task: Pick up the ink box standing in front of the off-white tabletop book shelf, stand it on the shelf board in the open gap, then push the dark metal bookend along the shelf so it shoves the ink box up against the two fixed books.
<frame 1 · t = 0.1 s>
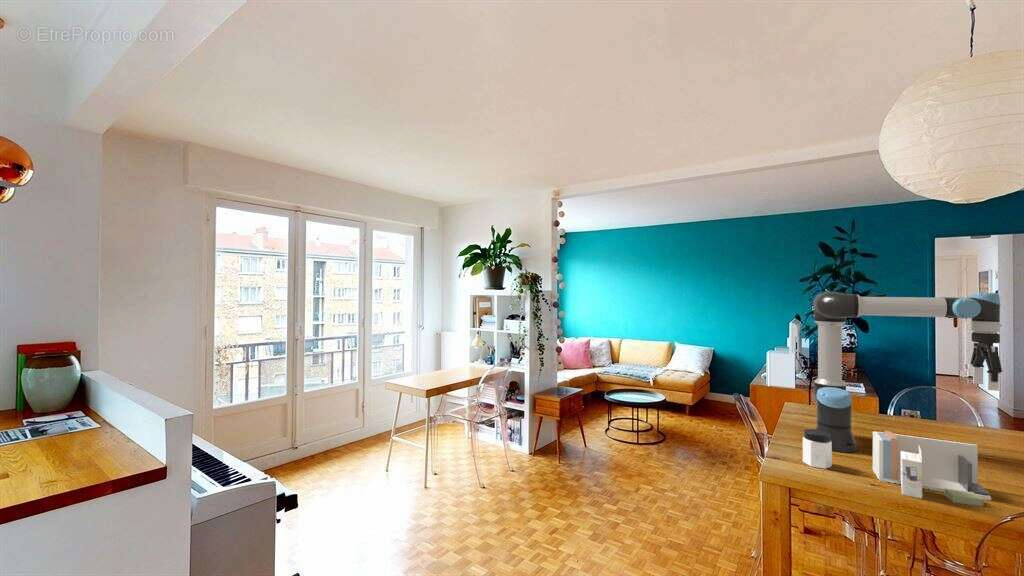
hand: (985, 386, 169), 28 cm above the table, fingers open, 13 cm apart
jar: (817, 464, 163), on the table
ink box: (910, 492, 141), on the table
shelf: (927, 483, 147), on the table
bookend: (973, 474, 141), point 6 cm above the table, slide at 0.0 cm
fallen book: (963, 501, 135), on the table
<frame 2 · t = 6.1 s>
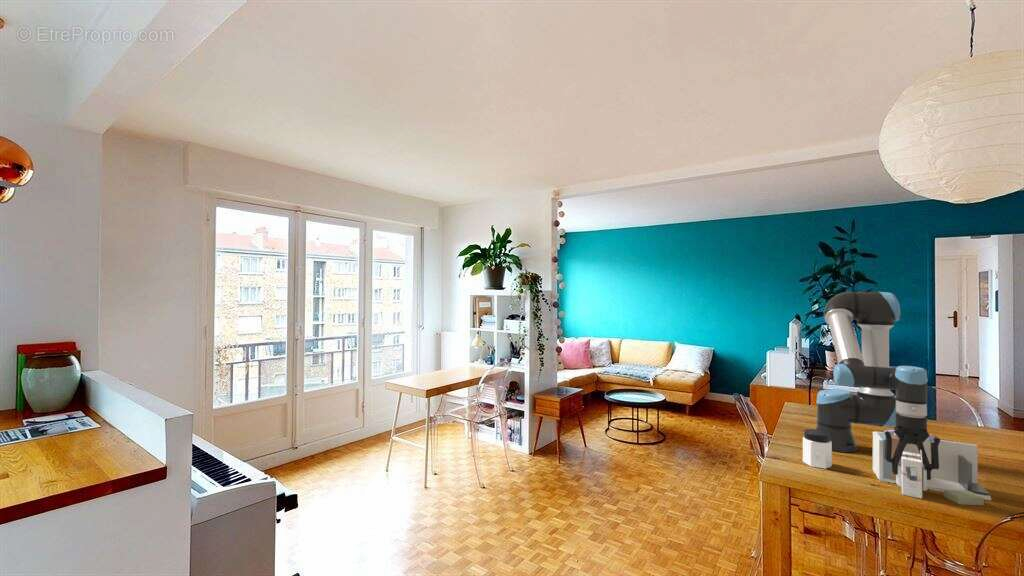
hand: (911, 486, 141), 2 cm above the table, fingers closed on ink box, 5 cm apart
ink box: (911, 492, 141), on the table, touching gripper
when the fingers open (4 cm above the table, at t = 11.6 s): ink box drops 1 cm, resting on shelf.
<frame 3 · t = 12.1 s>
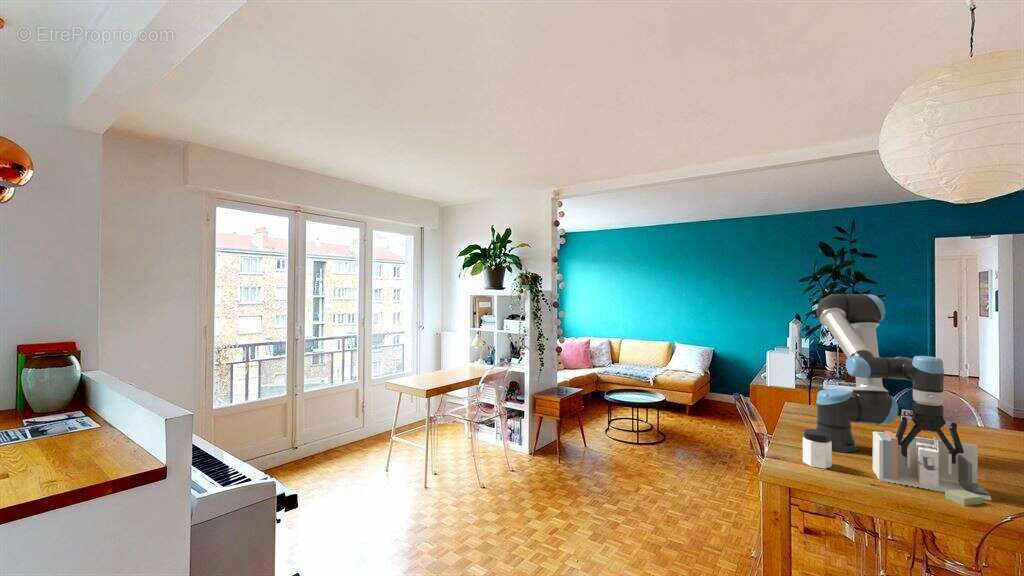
hand: (927, 469, 147), 5 cm above the table, fingers open, 9 cm apart
ink box: (927, 482, 147), point 1 cm above the table, touching shelf
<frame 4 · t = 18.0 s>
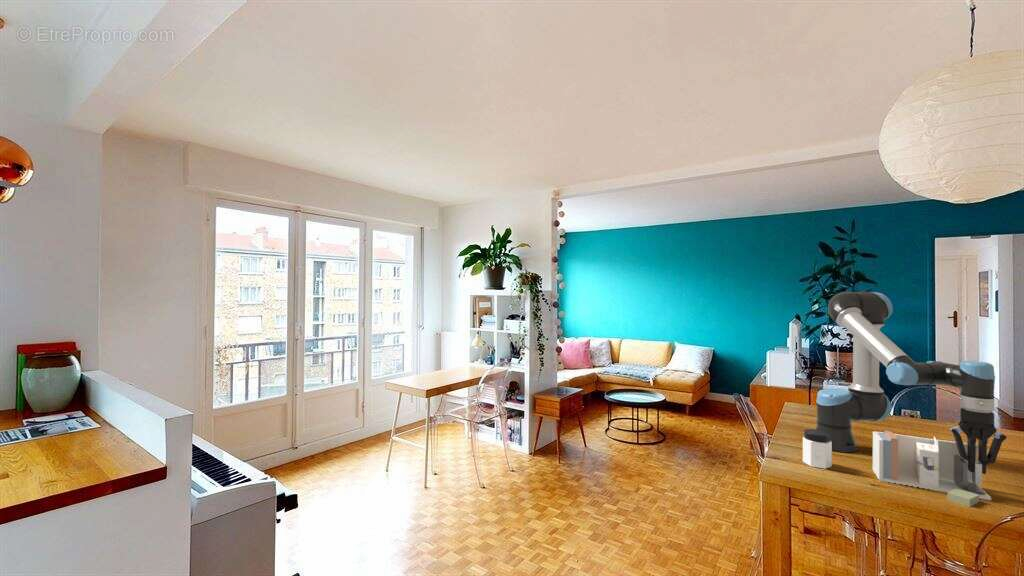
hand: (976, 482, 141), 3 cm above the table, fingers closed
bookend: (969, 473, 142), point 6 cm above the table, slide at 1.0 cm, touching gripper
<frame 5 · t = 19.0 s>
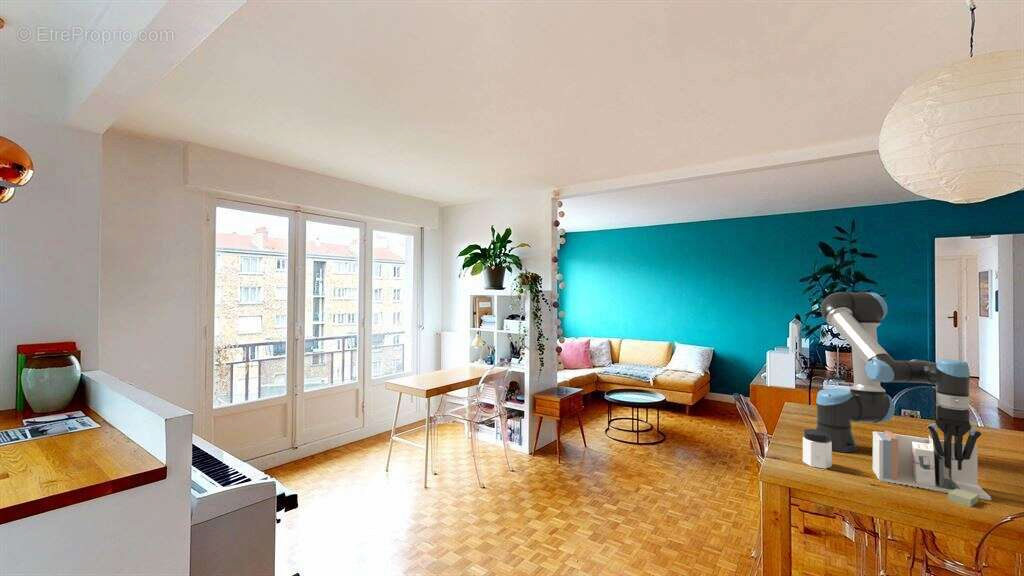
hand: (953, 478, 144), 3 cm above the table, fingers closed
ink box: (923, 481, 147), point 1 cm above the table, touching bookend, hand, shelf
bookend: (945, 470, 144), point 6 cm above the table, slide at 6.6 cm, touching gripper, ink box
everything else where it was.
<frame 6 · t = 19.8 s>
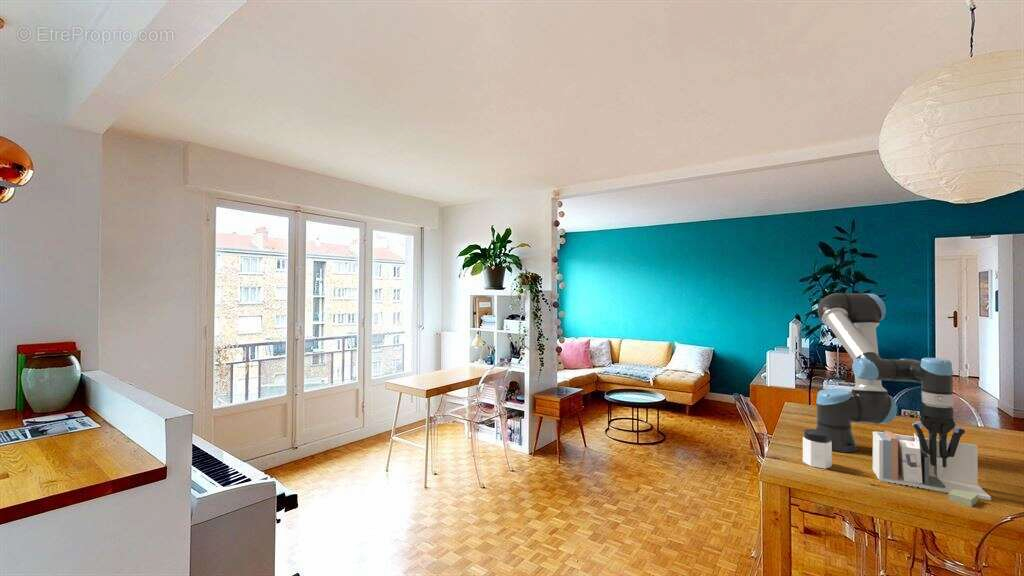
hand: (938, 475, 145), 3 cm above the table, fingers closed
ink box: (910, 478, 149), point 1 cm above the table, touching bookend, hand, shelf
bookend: (931, 467, 146), point 6 cm above the table, slide at 10.2 cm, touching gripper, ink box
everything else where it was.
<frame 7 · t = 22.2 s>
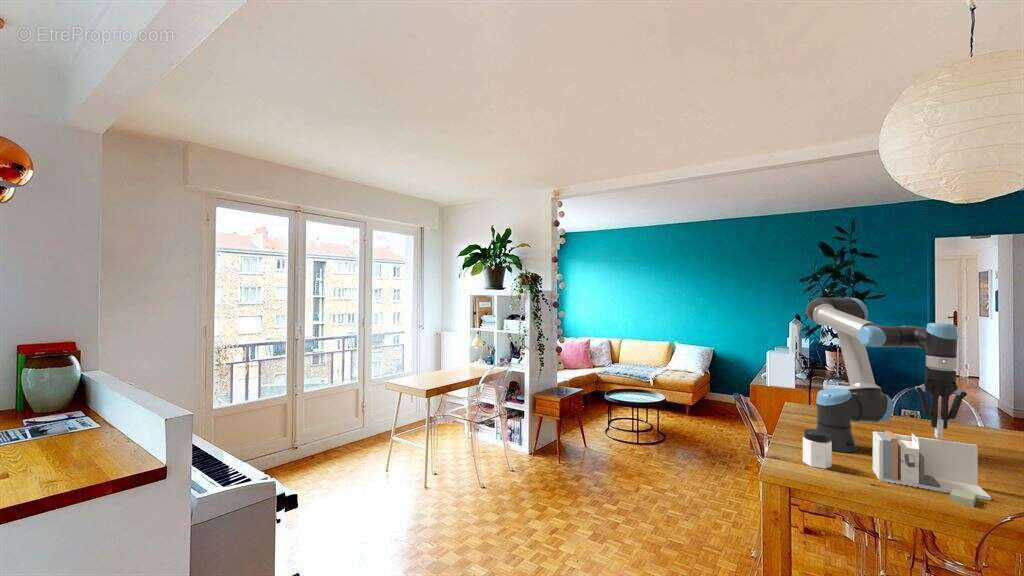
hand: (938, 437, 149), 15 cm above the table, fingers closed
ink box: (906, 478, 149), point 1 cm above the table, touching shelf
bookend: (926, 467, 147), point 6 cm above the table, slide at 11.3 cm
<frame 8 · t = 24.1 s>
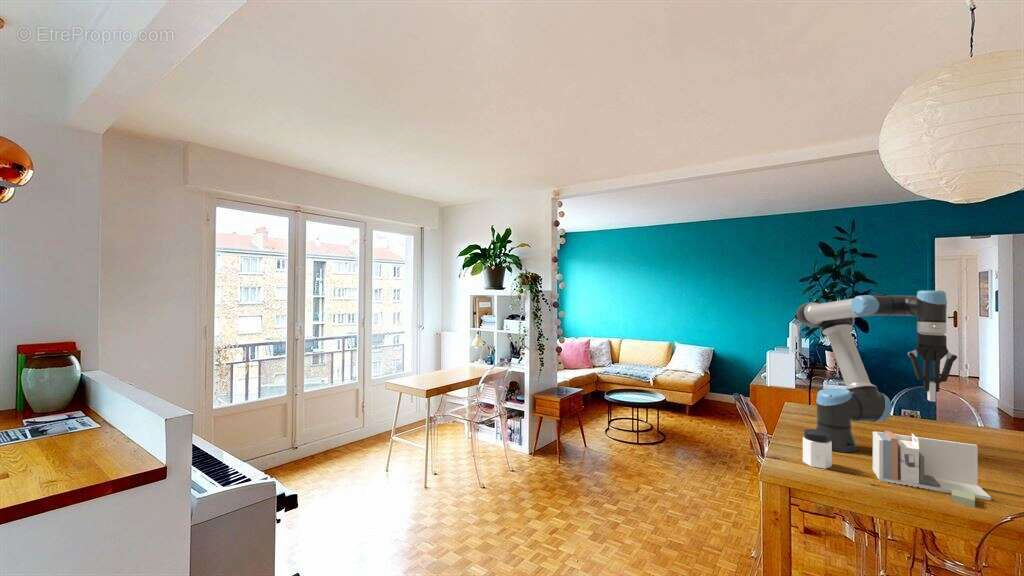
hand: (931, 400, 154), 26 cm above the table, fingers closed
at the end: ink box inside the target area (0.7 cm from its centre), point 0.8 cm above the table; ink box tilted 0°; bookend slide at 11.3 cm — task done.
